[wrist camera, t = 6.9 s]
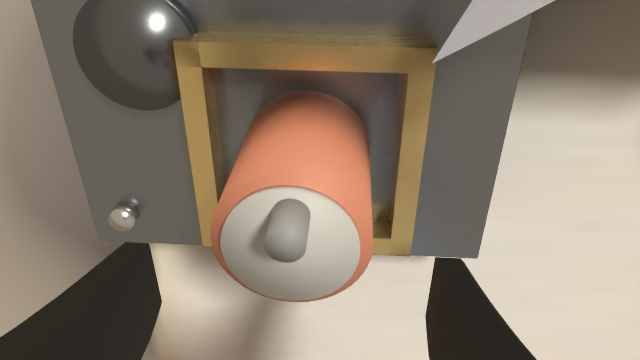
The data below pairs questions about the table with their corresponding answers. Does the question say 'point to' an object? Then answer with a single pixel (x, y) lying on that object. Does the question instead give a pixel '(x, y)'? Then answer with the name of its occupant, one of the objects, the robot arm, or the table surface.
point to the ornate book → (486, 21)
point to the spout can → (298, 201)
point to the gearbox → (269, 83)
